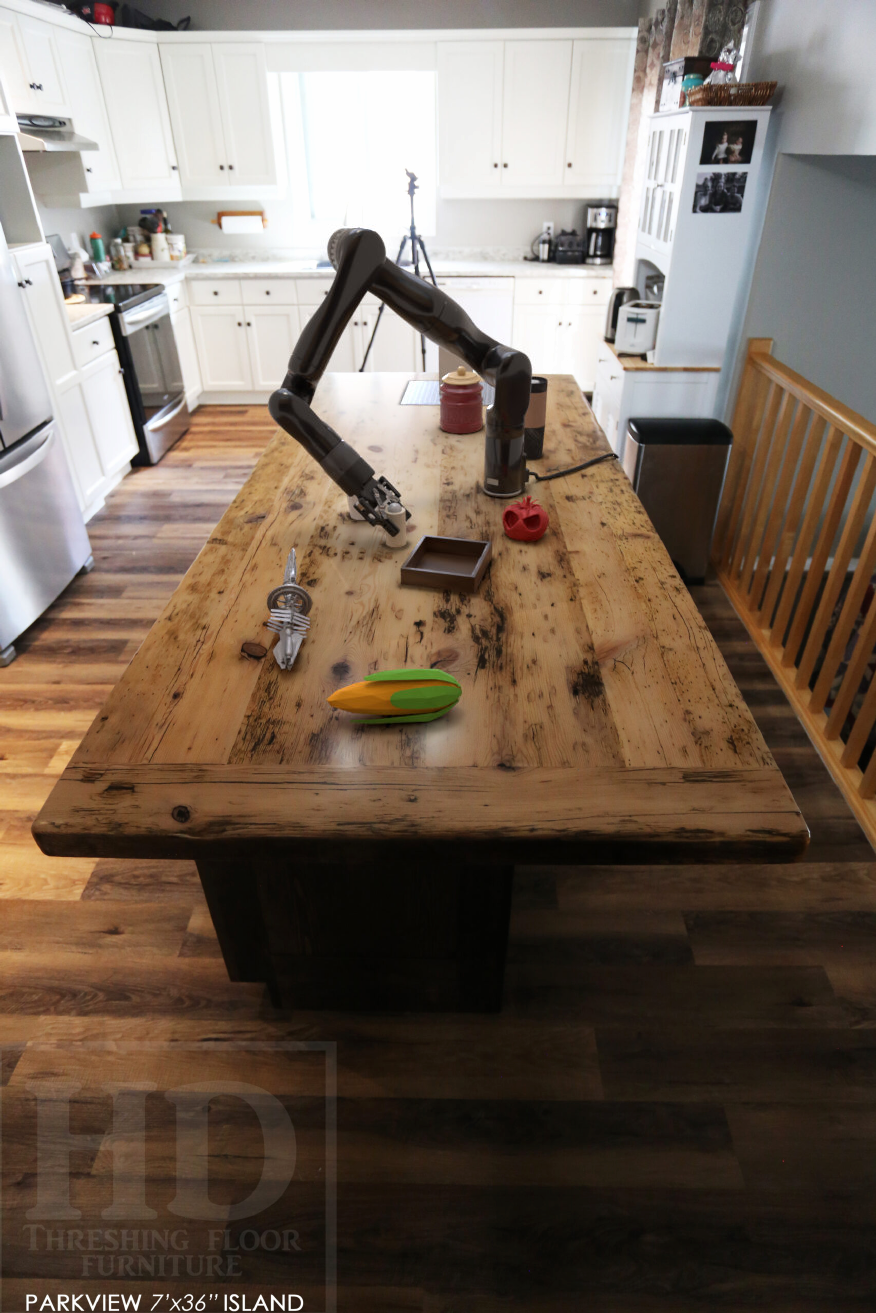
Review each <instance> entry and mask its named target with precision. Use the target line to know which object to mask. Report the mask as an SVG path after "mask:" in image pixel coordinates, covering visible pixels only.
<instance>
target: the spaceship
mask: <svg viewBox="0 0 876 1313" xmlns="http://www.w3.org/2000/svg"><path fill="white" fill-rule="evenodd" d="M284 568H285V570H284V573H283V582H282V584H281V585H279V586H277V587H275V588H273V589H272V590H270V592H269V593H268V595H267V596H266V597H267V598H266V607H267V609H268V611H269V613H270V618H267V621H268V622H267V624H266V625H267V628H266V629H267V630H268V631H271V632H274V633H276V634H279V641H278V642H277V643H276V645H275V647H274V648H273V649H272V653H273V655H274V657H275V660H276V662H277V664H278V665H279V666H280V669H281V670H283V669H285V670H286V669H287V670H288V671H291V669H292V668H293V666H294V663H295V661H296V658H297V655H298V652H299V650H300V646H301V644H302V642H303V639H307V631H306V630H307V629H311V627H310V626H309V625H310V624H311V622H310V620H311V619H310V617H307V616H308V615H309V613H310V612H311V611H312V608H313V599H312V597H311V595H310V594H309V592H308V591H307V590H306V589H305V588H303V587H302V586H299V585H298V581H297V575H298V574H297V573H298V572H297V571H298V570H297V569H298V567H297V556H296V550H295V548H294V547H292V548H291V550H290V552H289V553H288V555H287V559H286V563H285V567H284ZM281 597H283V599H284V600H283V599H280V598H281ZM278 602H279V603H282V604H281V605H280V606H279V604H278ZM298 602H301V604H300V603H298ZM297 607H298V608H297ZM278 621H282V622H283V623H281V622H278ZM294 625H295V626H294ZM296 625H298V626H296Z"/></svg>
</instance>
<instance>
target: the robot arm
mask: <svg viewBox="0 0 876 1313" xmlns="http://www.w3.org/2000/svg"><path fill="white" fill-rule="evenodd" d="M385 244H386V243H385V242H384V240H383V238H382V236H381V235H380V234H379V233H378V232H377V231H376V230H375V229H372V228H370V227H368V226H367V227H366V226H359V225H358V226H357V225H348V226H344V227H341V228H339V229H336V230H335V231H333V233H332V234H331V235H330V237H329V238H328V241H327V245H326V246H327V247H326V251H327V254H326V255H327V257H328V261H329V263H330V266H331V267H332V269H333V270H334V271H335V272H336V273H335V276H334V279H333V282H332V284H331V286H330V288H329V290H328V291H327V293H326V296H325V297H324V298H323V301H322V302H321V303H320V305H319V306H318V307H317V309H316V310H315V312H314V313H313V315H311V317H310V319H309V320H308V321H307V323H306V325H305V326H304V327H303V329H302V331H301V333H300V334H299V337H298V339H297V341H296V343H295V345H294V348H293V349H292V352H291V355H290V357H289V358H288V359H289V360H288V363H287V371H286V374H285V376H284V378H283V381H282V383H281V384H280V387H279V388H278V389H276V390H275V391H273V392H272V393H271V394H270V396H269V398H268V400H267V409H268V413H269V415H270V417H271V419H272V420H273V421H274V422H275V423H276V424H277V425H278V426H279V427H280V428H281V429H282V430H284V431H285V433H287V434H288V435H289V436H290V437H292V439H294V440H295V441H296V442H297V443H298V444H300V446H302V448H303V449H304V450H305V451H306V452H307V454H309V456H310V457H311V458H312V459H313V460H314V461H315V462H316V463H317V464H318V465H319V466H320V468H321V469H322V470H323V471H324V473H325V474H326V475H327V476H328V477H329V478H330V479H331V480H332V481H333V482H334V483H335V484H336V485H337V487H338V488H340V489H341V491H343V492H344V494H345V495H346V494H347V495H348V496H349V497H352V496H353V495H355V496H356V497H357V498H358V501H357V502H356V503H355V504H354V505H353V507H354V508H355V509H356V510H357V511H358V512H359V513H360V514H361V515H362V517H363V518H364V519H365V520H364V521H366V522H367V523H368V524H369V525H370V526H371V527H376V526H381V528H383V530H384V531H385V530H386V531H387V532H388V533H389V535H391V536H392V537H395V536H396V535H397V534H398V533H399V532H400V529H399V528H398V527H397V526H396V525H395V524H394V523H393V522H392V521H391V520H390V519H389V518H387V516H386V514H385V512H384V510H385V506H386V507H388V506H389V505H390V504H391V503H398V504H399V505H400V506H401V507H403V508H405V514H406V522H408V521H409V520H410V519H411V518H412V513H411V512H410V511H409V510H408V509H407V508H406V507H405V505H403V504H402V502H401V497H402V494H401V493H400V492H399V490H397V488H395V486H393V484H392V483H391V482H390V481H389V480H388V479H387V478H386V477H385V476H384V475H381V476H380V477H378V478H377V479H376V478H374V476H375V475H376V471H375V469H374V468H373V467H372V466H371V465H370V464H369V463H368V462H367V461H366V460H365V459H364V457H363V456H361V455H360V454H359V453H358V452H357V451H356V450H355V448H353V447H352V446H351V444H349V443H348V442H347V441H345V439H343V438H342V437H341V436H340V435H339V433H338V432H336V430H335V429H333V427H332V426H331V425H329V424H328V423H327V422H326V421H324V420H323V419H322V418H320V417H319V415H317V413H316V412H315V411H314V410H313V408H312V407H311V405H312V402H313V399H314V396H315V394H316V391H317V387H318V385H319V383H320V381H321V380H322V378H323V376H324V374H325V371H326V369H327V367H328V365H329V363H330V361H331V359H332V356H333V354H334V352H335V350H336V348H337V346H338V344H339V341H340V340H341V337H342V336H343V333H344V331H345V330H346V329H347V326H348V325H349V323H350V321H351V319H352V317H353V315H354V314H355V312H356V311H357V309H358V308H359V306H360V304H361V302H362V301H363V299H364V297H365V296H366V294H367V293H370V294H371V295H373V296H374V297H375V298H377V299H379V300H380V301H381V302H382V303H384V304H385V305H386V306H387V307H388V308H389V309H390V310H392V312H394V313H395V314H396V315H397V316H398V317H399V318H401V319H402V320H403V321H405V323H407V324H408V325H409V326H410V327H412V328H413V329H414V330H415V331H417V332H418V333H419V334H420V335H422V336H423V337H425V338H426V339H427V340H429V341H430V342H432V343H433V344H435V345H437V346H438V348H439V347H441V348H443V349H444V350H446V351H448V352H450V353H452V354H454V355H456V356H457V357H459V358H460V359H462V360H463V361H464V362H465V363H467V364H468V365H469V366H470V367H471V368H472V369H473V372H474V373H475V374H476V375H477V376H479V377H480V378H481V380H483V382H486V383H488V384H489V385H490V386H492V387H494V388H495V396H494V404H493V405H488V406H487V408H486V409H485V416H484V418H485V420H484V421H485V423H484V467H483V487H482V488H483V489H482V490H483V493H484V494H486V495H487V496H490V497H493V498H501V499H502V498H503V499H504V498H512V497H516V496H518V495H520V494H522V493H525V491H526V484H527V483H529V482H530V476H533V477H534V478H535V480H536V481H546V480H551V479H554V478H557V477H560V476H563V475H567V474H570V473H574V472H576V471H579V470H581V469H584V468H586V467H588V466H590V465H592V464H594V463H596V462H599V461H602V460H605V459H607V458H611V457H612V458H614V459H620V456H619V455H618V454H616V453H615V452H609V453H606V454H604V455H601V456H598V457H595V458H593V459H590V460H588V461H586V462H584V463H582V464H579V465H577V466H573V467H572V468H568V469H565V470H561V471H557V472H555V473H552V474H549V475H546V476H539V474H538V472H535V471H530V469H529V468H528V467H527V460H526V457H527V455H526V453H524V452H523V449H524V429H525V415H526V413H527V410H528V408H529V403H530V393H531V384H532V376H533V366H532V363H531V359H530V357H529V356H528V355H527V354H526V353H525V352H523V351H521V350H518V349H516V348H513V347H511V346H508V345H505V344H503V343H501V342H499V341H498V340H496V339H494V338H493V337H491V336H489V335H488V334H486V333H485V332H483V330H481V329H480V328H479V327H478V326H477V324H475V322H474V321H473V319H472V318H471V317H470V316H469V314H468V313H467V311H466V310H465V309H464V308H463V307H462V306H461V305H460V304H459V303H458V302H457V301H456V300H454V299H453V298H452V297H450V295H448V294H447V293H446V292H445V291H443V290H442V289H441V288H439V287H437V286H436V285H434V284H433V283H431V282H429V281H428V280H426V279H424V278H422V277H420V276H418V275H416V274H414V273H413V272H410V271H409V270H407V269H405V268H403V267H401V266H399V265H398V264H397V263H395V262H394V261H393V260H391V259H390V258H389V257H388V256H387V249H386V245H385ZM613 455H614V456H613ZM347 495H346V496H347ZM369 515H370V516H372V517H373V518H371V517H370V516H369Z"/></svg>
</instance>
